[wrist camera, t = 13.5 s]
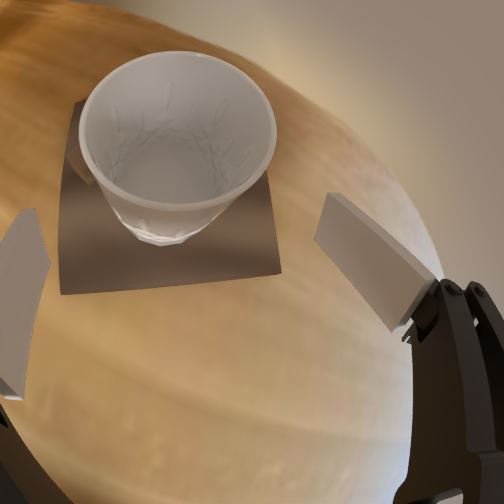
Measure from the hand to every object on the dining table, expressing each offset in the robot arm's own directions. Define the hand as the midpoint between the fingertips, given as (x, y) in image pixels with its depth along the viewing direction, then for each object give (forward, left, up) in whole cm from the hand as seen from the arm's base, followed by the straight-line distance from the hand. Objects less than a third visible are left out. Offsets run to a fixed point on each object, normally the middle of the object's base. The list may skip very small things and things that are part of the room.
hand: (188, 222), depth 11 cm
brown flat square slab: (-4, +3, -9) cm, 10 cm away
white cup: (-3, +2, -8) cm, 9 cm away
